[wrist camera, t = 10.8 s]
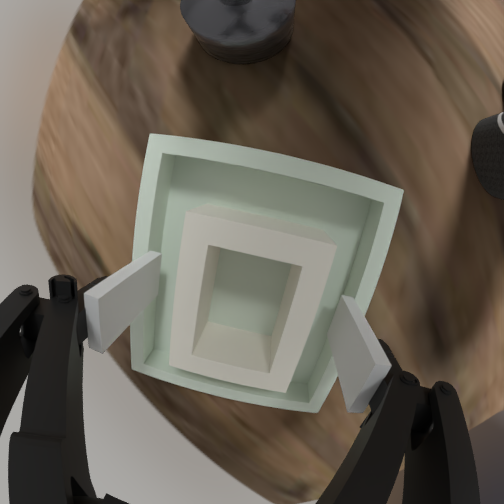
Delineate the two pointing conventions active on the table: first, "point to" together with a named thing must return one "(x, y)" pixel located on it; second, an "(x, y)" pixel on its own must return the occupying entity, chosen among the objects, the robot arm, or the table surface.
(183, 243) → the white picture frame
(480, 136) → the coffee cup
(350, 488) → the robot arm
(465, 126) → the table surface
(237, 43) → the grey knobbed cylinder
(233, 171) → the tray
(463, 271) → the table surface
